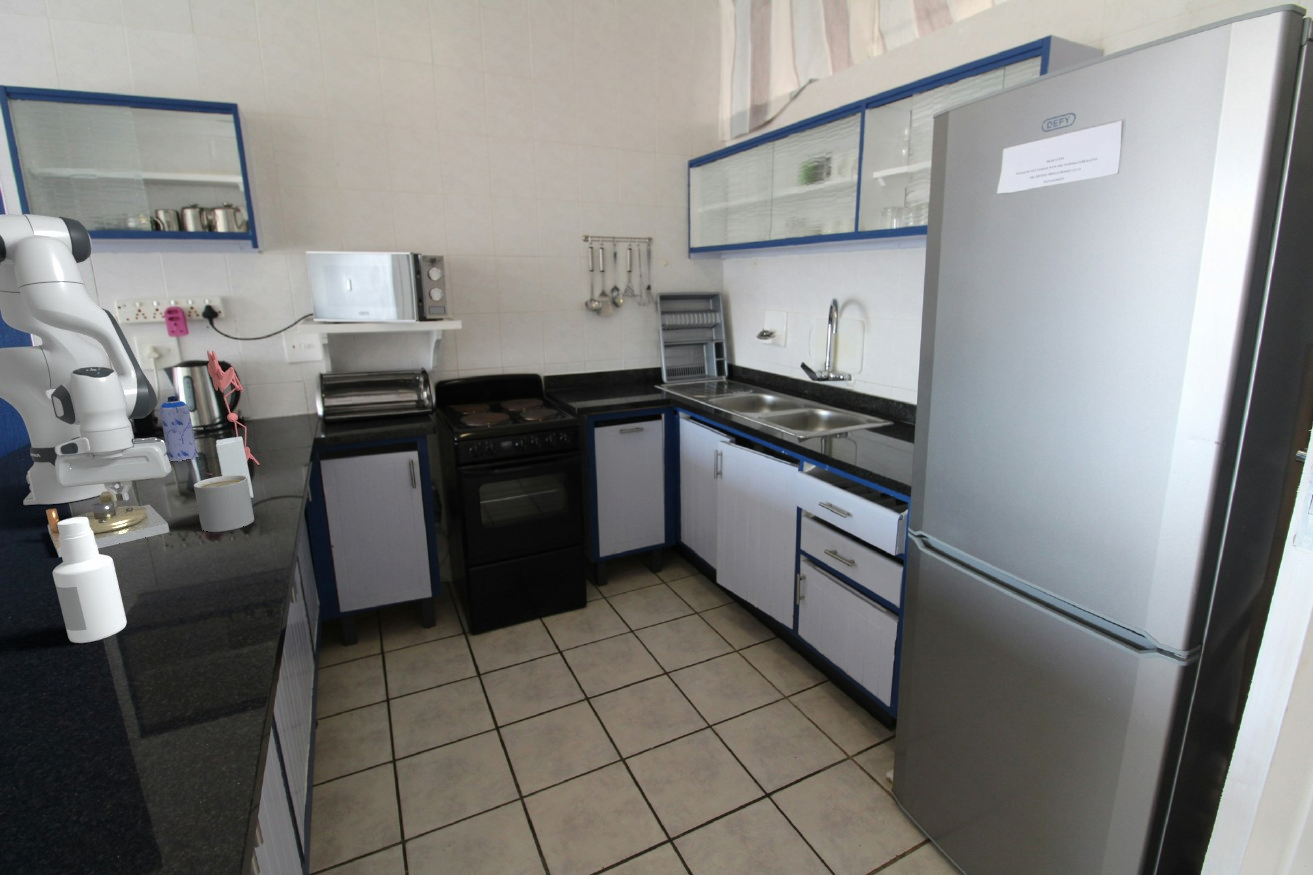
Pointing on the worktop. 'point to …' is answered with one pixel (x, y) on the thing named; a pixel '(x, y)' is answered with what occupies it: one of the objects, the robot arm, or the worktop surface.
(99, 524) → the flange plate
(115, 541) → the base plate
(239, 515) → the coffee mug
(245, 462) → the skincare box
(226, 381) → the figurine
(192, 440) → the aerosol can
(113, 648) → the worktop surface
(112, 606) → the white bottle
